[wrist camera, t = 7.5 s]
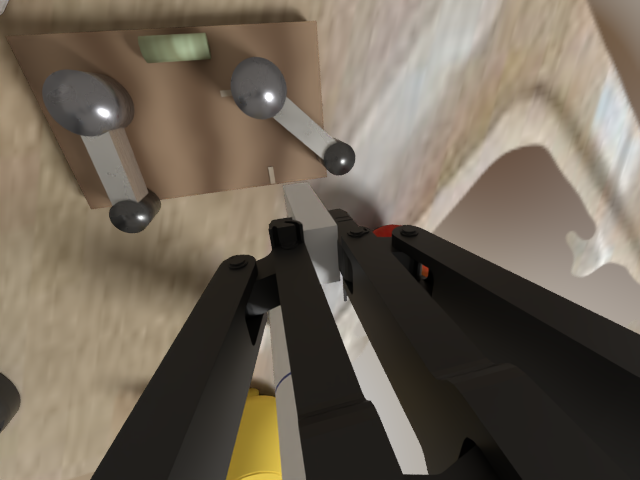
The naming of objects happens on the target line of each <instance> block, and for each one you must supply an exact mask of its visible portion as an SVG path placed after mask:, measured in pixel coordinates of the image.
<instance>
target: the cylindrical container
mask: <svg viewBox="0 0 640 480" xmlns="http://www.w3.org/2000/svg"><path fill="white" fill-rule="evenodd" d="M269 321H270V333H271V346H272V359H273V371H274V384H275V395H276V409H277V421H278V434H279V447H280V459H281V472H282V480H306V475H305V468H304V462H303V455H302V448H301V442H300V435H299V428H298V416H297V409H296V403H295V396H294V390H293V383H292V377H291V370H290V363H289V357H288V350H287V344H286V337H285V331H284V324H283V317H282V311H281V305H280V306H278V307H276V308H273V309H271V310H269Z"/></svg>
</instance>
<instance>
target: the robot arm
mask: <svg viewBox="0 0 640 480" xmlns="http://www.w3.org/2000/svg"><path fill="white" fill-rule="evenodd" d="M283 190H284V197H285V203H286V210H287V217H288V218H283V219H277V220H272V221H271V223H270V224H269V235H270V240H271V246H272V251H271V253H270V254H269V255H268V256H266V257H265V258H263V259H260V260H258V261H256V259H255V258H254V257H253V256H250V255H236V256H232V257H230V258H228V259H227V260H225V261H223V262H222V263H221V265H220V266H219V268H218V269H217V271H216V273H215V274H214V276H213V278H212V279H211V281H210V283H209V284H208V286H207V287H206V289H205V291H204V292H203V294H202V296H201V297H200V299H199V301H198V302H197V304H196V306H195V307H194V309H193V311H192V312H191V314H190V316H189V317H188V319H187V321H186V322H185V324H184V326H183V327H182V329H181V331H180V332H179V334H178V335H177V337H176V339H175V340H174V342H173V344H172V345H171V347H170V349H169V350H168V352H167V354H166V355H165V357H164V359H163V360H162V362H161V364H160V365H159V367H158V369H157V370H156V372H155V374H154V375H153V377H152V378H151V380H150V382H149V383H148V385H147V387H146V388H145V390H144V392H143V393H142V395H141V397H140V398H139V400H138V402H137V403H136V405H135V407H134V408H133V410H132V412H131V413H130V415H129V417H128V418H127V420H126V422H125V423H124V425H123V426H122V428H121V430H120V431H119V433H118V435H117V436H116V438H115V440H114V441H113V443H112V445H111V446H110V448H109V450H108V451H107V453H106V455H105V456H104V458H103V460H102V461H101V463H100V465H99V466H98V468H97V470H96V471H95V473H94V475H93V476H92V478H91V479H90V480H226V477H227V473H228V469H229V465H230V461H231V457H232V454H233V450H234V446H235V442H236V438H237V434H238V430H239V426H240V422H241V418H242V414H243V411H244V407H245V403H246V399H247V395H248V391H249V387H250V383H251V379H252V375H253V371H254V368H255V364H256V360H257V356H258V352H259V348H260V344H261V340H262V336H263V332H264V328H265V325H266V321H267V311H269V310H271V309H273V308H276V307H278V306H280V305H281V311H282V317H283V324H284V331H285V337H286V344H287V350H288V357H289V363H290V370H291V377H292V383H293V390H294V396H295V403H296V409H297V416H298V428H299V435H300V442H301V448H302V455H303V462H304V468H305V475H306V480H640V335H639V334H637V333H635V332H633V331H631V330H629V329H627V328H625V327H623V326H621V325H619V324H617V323H615V322H613V321H611V320H608V319H607V318H604V317H603V316H600V315H598V314H596V313H594V312H592V311H590V310H588V309H586V308H584V307H582V306H580V305H578V304H576V303H574V302H572V301H569V300H567V299H566V298H563V297H561V296H559V295H557V294H555V293H553V292H551V291H549V290H547V289H545V288H543V287H541V286H539V285H537V284H535V283H533V282H531V281H529V280H527V279H524V278H522V277H520V276H518V275H516V274H514V273H512V272H510V271H508V270H506V269H504V268H502V267H500V266H498V265H496V264H494V263H491V262H490V261H487V260H485V259H483V258H481V257H479V256H477V255H475V254H473V253H471V252H469V251H467V250H465V249H463V248H461V247H458V246H457V245H455V244H453V243H451V242H448V241H446V240H444V239H442V238H440V237H438V236H436V235H434V234H432V233H430V232H428V231H426V230H424V229H422V228H419V227H416V226H411V225H402V226H398V227H396V228H394V229H393V230H392V237H377V236H376V235H375V234H374V233H373V232H372V231H371V230H370V229H368V228H365V227H358V225H357V224H356V223H355V222H354V221H353V220H352V218H351V217H349V215H348V214H347V212H345V211H343V210H341V209H335V210H329V211H327V209H326V208H325V206H324V205H323V204H322V202H321V201H320V199H319V198H318V196H317V195H316V193H315V192H314V190H313V189H312V187H311V186H310V185H309V183H308V182H303V183H295V184H288V185H283ZM422 265H424V266H425V267H427V268H428V276H427V277H425V276H423V275H422ZM340 272H341V274H342V276H343V292H344V301H347V296H348V297H349V299H350V301H351V303H352V305H353V307H354V309H355V311H356V314H357V316H358V318H359V320H360V322H361V324H362V326H363V328H364V330H365V332H366V334H367V336H368V338H369V340H370V342H371V344H372V346H373V348H374V350H375V352H376V354H377V356H378V359H379V360H380V363H381V365H382V367H383V369H384V371H385V373H386V375H387V377H388V379H389V381H390V383H391V385H392V387H393V389H394V391H395V393H396V395H397V397H398V399H399V401H400V404H401V406H402V408H403V409H404V412H405V414H406V416H407V418H408V420H409V422H410V424H411V426H412V428H413V430H414V432H415V434H416V436H417V438H418V440H419V442H420V445H421V447H422V450H423V453H424V457H425V461H426V466H427V470H428V474H429V475H407V474H403V473H402V471H401V468H400V466H399V464H398V461H397V459H396V456H395V454H394V451H393V449H392V447H391V444H390V442H389V439H388V437H387V434H386V432H385V429H384V427H383V424H382V422H381V420H380V417H379V415H378V413H377V411H376V409H375V407H374V405H373V404H372V402H371V401H368V400H366V399H365V397H364V395H363V393H362V391H361V388H360V385H359V383H358V380H357V378H356V375H355V372H354V370H353V367H352V364H351V362H350V359H349V357H348V354H347V351H346V349H345V346H344V344H343V341H342V338H341V336H340V333H339V331H338V328H337V325H336V323H335V320H334V318H333V315H332V312H331V310H330V307H329V305H328V302H327V299H326V297H325V294H324V292H323V289H322V286H321V285H322V284H327V283H332V282H337V281H340ZM19 407H20V395H19V392H18V390H17V389H16V387H15V386H14V385H13V383H12V382H11V381H9V380H8V379H7V378H6V377H4V376H3V375H2V374H0V433H1V432H2V431H3V430H4V429H5V427H6V426H7V425H8V423H9V422H10V421H11V419H12V418H13V417H14V415H15V414H16V413H17V411H18V409H19Z"/></svg>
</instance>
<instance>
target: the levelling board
mask: <svg viewBox="0 0 640 480" xmlns="http://www.w3.org/2000/svg"><path fill="white" fill-rule="evenodd" d="M5 37H6V39H7V41H8V43H9V45H10V47H11V49H12V51H13V53H14V55H15V57H16V59H17V61H18V63H19V65H20V67H21V69H22V71H23V73H24V75H25V77H26V79H27V81H28V83H29V85H30V87H31V89H32V91H33V93H34V95H35V97H36V99H37V101H38V103H39V105H40V107H41V109H42V111H43V113H44V115H45V117H46V119H47V121H48V123H49V125H50V127H51V129H52V131H53V133H54V135H55V137H56V139H57V141H58V143H59V145H60V147H61V149H62V151H63V154H64V156H65V158H66V160H67V162H68V164H69V166H70V168H71V170H72V172H73V174H74V176H75V178H76V180H77V182H78V184H79V186H80V188H81V190H82V192H83V194H84V196H85V198H86V200H87V202H88V204H89V206H90V208H91V209H96V208H104V207H111V206H112V203H111V201H110V199H109V197H108V195H107V192H106V190H105V188H104V186H103V184H102V182H101V179H100V177H99V175H98V173H97V171H96V168H95V166H94V164H93V162H92V160H91V157H90V155H89V153H88V151H87V149H86V146H85V144H84V142H83V140H82V138H81V135H78V134H75V133H73V132H70V131H69V130H67V129H65V128H64V127H62V126H61V125H60V124H58V123H57V122H56V121H55V120H54V118H53V117H52V116H51V115H50V113H49V112H48V110H47V108H46V106H45V104H44V101H43V96H42V89H43V84H44V82H45V80H46V78H47V77H48V76H49V75H51V74H52V73H54V72H56V71H59V70H65V69H69V70H77V71H83V72H90V73H97V74H102V75H106V76H109V77H111V78H113V79H114V80H116V81H118V82H119V83H120V84H121V85H122V86H123V87H124V88H125V89H126V90H127V91H128V93H129V94H130V96H131V98H132V101H133V104H134V117H133V120H132V122H131V123H130V124H129V125H128V126H127V127H126V128H124V130H125V132H126V135H127V137H128V140H129V143H130V145H131V148H132V151H133V153H134V156H135V158H136V161H137V164H138V166H139V169H140V172H141V174H142V177H143V179H144V182H145V185H146V187H147V189H148V190H150V191H152V192H154V193H155V194H156V195H157V196H158V197H159V199H160V200H162V199H169V198H177V197H184V196H191V195H199V194H206V193H213V192H221V191H228V190H235V189H243V188H250V187H257V186H264V185H272V184H279V183H286V182H294V181H301V180H308V179H316V178H323V177H327V171H326V168H325V167H324V166H323V165H322V164H321V163H320V162H319V161H318V159H317V156H316V153H315V152H314V151H312V150H311V149H310V148H309V147H308V146H306V145H305V144H304V143H303V142H302V141H300V140H299V139H298V138H297V137H296V136H294V135H293V134H292V133H291V132H290V131H288V130H287V129H286V128H285V127H284V126H282V125H281V124H280V123H279V122H278V121H276V120H275V119H274V118H273V117H271V118H268V119H255V118H252V117H250V116H248V115H246V114H245V113H243V112H242V111H241V110H240V109H239V107H238V106H237V105H236V103H235V101H234V99H233V96H232V93H231V77H232V74H233V71H234V70H235V68H236V67H237V65H238V64H239V63H240V62H242V61H243V60H245V59H247V58H250V57H262V58H265V59H267V60H269V61H271V62H272V63H274V64H275V65H276V66H277V67H278V68H279V70H280V71H281V73H282V74H283V76H284V79H285V82H286V87H287V96H286V97H287V98H288V99H290V100H291V101H292V102H293V103H294V104H295V105H296V106H297V107H298V108H300V109H301V110H302V111H303V112H304V113H305V114H306V115H307V116H308V117H310V118H311V119H312V120H313V121H314V122H315V123H316V124H317V125H318V126H320V127H321V128H322V129H323V130H324V126H323V111H322V96H321V81H320V67H319V52H318V37H317V22H316V21H302V22H281V23H260V24H240V25H219V26H199V27H178V28H157V29H137V30H116V31H95V32H75V33H54V34H34V35H13V36H5Z"/></svg>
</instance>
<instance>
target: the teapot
mask: <svg viewBox="0 0 640 480" xmlns="http://www.w3.org/2000/svg"><path fill="white" fill-rule="evenodd" d="M226 480H282V472H281V459H280V447H279V434H278V421H277V409H276V397H273V396H259V390H258V389H255V388H249V391H248V395H247V399H246V403H245V407H244V411H243V414H242V418H241V422H240V426H239V430H238V434H237V438H236V442H235V446H234V450H233V454H232V457H231V461H230V465H229V469H228V473H227V477H226Z"/></svg>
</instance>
